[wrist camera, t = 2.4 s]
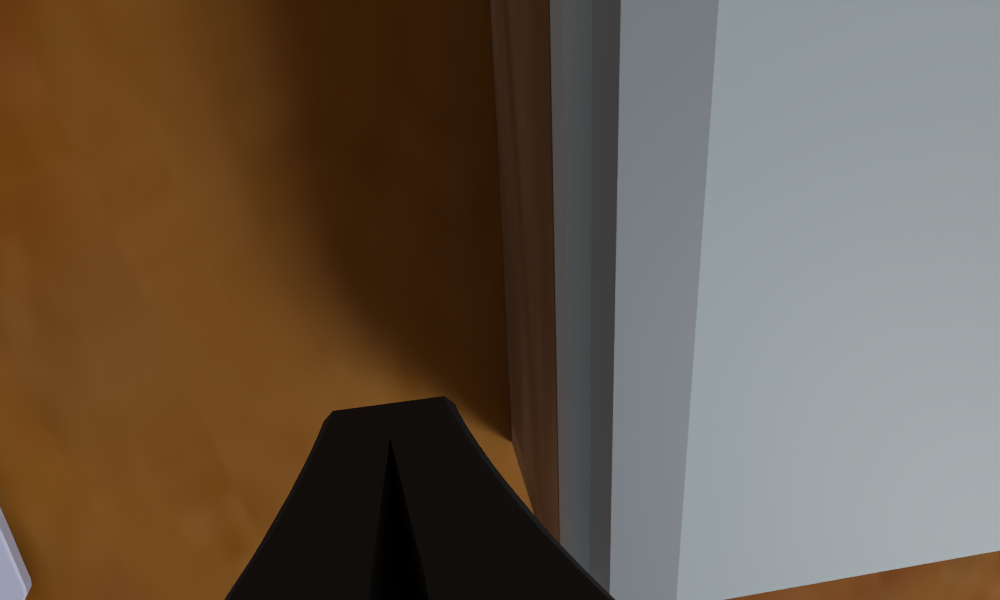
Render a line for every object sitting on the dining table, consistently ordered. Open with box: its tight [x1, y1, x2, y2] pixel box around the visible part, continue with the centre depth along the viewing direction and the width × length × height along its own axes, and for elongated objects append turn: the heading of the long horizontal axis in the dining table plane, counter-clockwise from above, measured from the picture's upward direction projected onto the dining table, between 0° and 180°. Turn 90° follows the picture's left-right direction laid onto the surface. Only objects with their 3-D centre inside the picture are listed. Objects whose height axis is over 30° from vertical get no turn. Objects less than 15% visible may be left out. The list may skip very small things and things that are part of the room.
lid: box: [550, 0, 1000, 600], centre depth 13 cm, size 13×13×2 cm
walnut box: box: [490, 0, 560, 543], centre depth 16 cm, size 13×13×5 cm
